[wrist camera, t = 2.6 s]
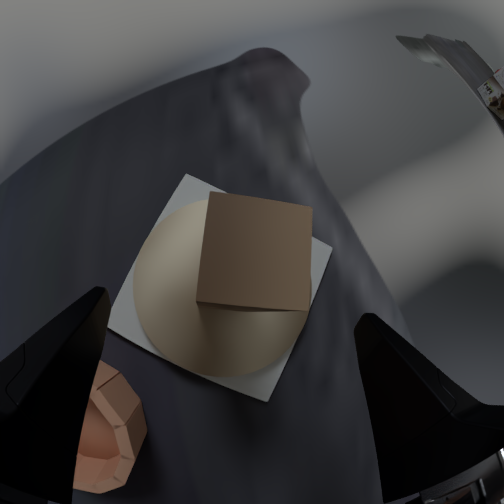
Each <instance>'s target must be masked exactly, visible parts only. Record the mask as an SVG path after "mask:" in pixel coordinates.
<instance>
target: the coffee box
mask: <svg viewBox="0 0 504 504" xmlns="http://www.w3.org/2000/svg"><path fill="white" fill-rule="evenodd" d="M477 90H478V91H479V93H480V95H481V97H482V98H483V100H484V102H485V104H486V106H487V107H488V108H489V109H490V110H491V111H493V112H494V113H495V114H496V115H497V116H498V117H499V118H500V119H501V120H503V119H504V67H503V68H501V69H500V70H499V71H498V72H497V73H495V74H494V75H493V76H492V77H491V78H490V79H488V80H487V81H486V82H485V83H484V84H483V85H481V86H480V87H479V88H478V89H477Z"/></svg>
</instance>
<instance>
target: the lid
mask: <svg viewBox="0 0 504 504" xmlns="http://www.w3.org/2000/svg"><path fill="white" fill-rule="evenodd" d="M311 249H312V207H308V206H303V205H297V204H292V203H286V202H280V201H274V200H268V199H262V198H256V197H249V196H243V195H236V194H229V193H222V192H215V191H210V193H209V199H207V200H201V201H197V202H194V203H191V204H188V205H186V206H184V207H182V208H180V209H178V210H176V211H175V212H173V213H171V214H170V215H168V216H167V217H166V218H165V219H164V220H162V221H161V222H160V223H159V224H158V225H157V226H156V227H155V228H154V230H153V231H152V232H151V233H150V235H149V236H148V238H147V239H146V241H145V242H144V244H143V246H142V248H141V250H140V253H139V255H138V258H137V261H136V265H135V270H134V275H133V298H134V303H135V308H136V312H137V315H138V318H139V320H140V323H141V325H142V327H143V329H144V331H145V333H146V334H147V336H148V337H149V338H150V340H151V341H152V343H153V344H154V345H155V346H156V347H157V348H158V349H159V350H160V352H162V353H163V354H164V355H165V356H166V357H168V358H169V359H170V360H171V361H173V362H175V363H176V364H178V365H179V366H181V367H183V368H185V369H188V370H190V371H192V372H195V373H199V374H202V375H207V376H214V377H233V376H241V375H245V374H248V373H252V372H255V371H257V370H259V369H262V368H264V367H266V366H267V365H269V364H271V363H272V362H274V361H275V360H277V359H278V358H279V357H280V356H282V355H283V354H284V353H285V352H286V351H287V350H288V349H289V348H290V347H291V345H292V344H293V343H294V341H295V340H296V339H297V337H298V336H299V334H300V332H301V330H302V329H303V327H304V324H305V322H306V319H307V317H308V313H309V309H310V305H311V297H312V281H311Z"/></svg>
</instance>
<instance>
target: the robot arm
mask: <svg viewBox="0 0 504 504" xmlns="http://www.w3.org/2000/svg"><path fill="white" fill-rule="evenodd" d="M110 313H111V304H110V299H109V293H108V290H107V288H104V287H98V286H96V287H94V288H93V289H91V290H90V291H88V292H87V293H86V294H84V295H83V296H82V297H80V298H79V299H78V300H76V301H75V302H74V303H73V304H71V305H70V306H69V307H67V308H66V309H65V310H63V311H62V312H61V313H60V314H58V315H57V316H56V317H54V318H53V319H52V320H51V321H49V322H48V323H47V324H46V325H44V326H43V327H42V328H41V329H40V330H38V331H37V332H36V333H35V334H33V335H32V336H31V337H30V338H29V339H27V340H26V341H25V343H23V344H21V345H20V346H19V347H18V348H17V349H16V350H14V351H13V352H12V353H11V354H10V355H8V356H7V357H6V358H5V359H3V360H2V361H1V362H0V504H48V500H49V501H53V502H56V503H60V504H72V493H73V483H74V475H75V467H76V461H77V454H78V448H79V442H80V437H81V432H82V427H83V422H84V418H85V413H86V409H87V405H88V401H89V397H90V393H91V389H92V385H93V382H94V378H95V374H96V371H97V368H98V364H99V361H100V358H101V354H102V350H103V346H104V341H105V336H106V331H107V326H108V322H109V318H110ZM354 338H355V344H356V351H357V358H358V364H359V370H360V374H361V379H362V383H363V387H364V391H365V396H366V400H367V405H368V410H369V415H370V420H371V425H372V430H373V435H374V441H375V447H376V452H377V459H378V466H379V473H380V480H381V488H382V496H383V502H384V504H385V503H388V502H392V501H395V500H398V499H401V498H404V497H407V496H410V495H412V494H415V493H418V492H419V494H420V496H418V497H417V498H415V499H413V500H411V501H408V502H406V503H405V504H504V406H503V405H487V404H483V403H481V402H479V401H478V400H477V399H475V398H474V397H473V396H471V395H470V394H469V393H467V392H466V391H465V390H464V389H462V388H461V387H460V386H459V385H457V384H456V383H454V382H453V381H452V380H451V379H450V378H449V377H448V376H446V375H445V374H444V373H443V372H442V371H441V370H440V369H438V368H437V367H436V366H435V365H434V364H433V363H432V362H430V361H429V360H428V359H427V358H426V357H425V356H424V355H423V354H421V353H420V352H419V351H418V350H417V349H416V348H415V347H413V346H412V345H411V344H410V343H409V342H408V341H406V340H405V339H404V338H403V337H402V336H401V335H399V334H398V333H397V332H396V331H395V330H393V329H392V328H391V327H390V326H389V325H388V324H386V323H385V322H384V321H383V320H382V319H380V318H379V317H378V316H377V315H376V314H374V313H364V314H363V315H362V316H361V318H360V320H359V321H358V323H357V325H356V326H355V328H354Z"/></svg>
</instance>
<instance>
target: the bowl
mask: <svg viewBox="0 0 504 504" xmlns="http://www.w3.org/2000/svg"><path fill="white" fill-rule="evenodd" d="M146 433H147V426H146V422H145V417H144V412H143V407H142V401H141V400H140V398H139V397H138V396H137V394H136V393H135V392H134V390H133V389H132V388H131V386H130V385H129V384H128V382H127V381H126V379H125V378H124V377H123V375H122V374H121V373H120V374H119V371H118V370H116V369H114V368H113V367H111V366H109V365H108V364H106V363H104V362H103V361H101V360H100V361H99V364H98V368H97V371H96V374H95V378H94V382H93V385H92V389H91V393H90V397H89V401H88V405H87V409H86V413H85V418H84V422H83V427H82V432H81V437H80V442H79V448H78V454H77V461H76V467H75V475H74V483H73V488H75V489H79V490H83V491H88V492H93V493H98V494H99V493H100V494H101V493H104V492H107V491H110V490H112V489H115V488H118V487H121V486H123V485H124V484H125V483H126V481H127V479H128V476H129V474H130V472H131V469H132V467H133V465H134V462H135V460H136V458H137V455H138V453H139V450H140V448H141V445H142V443H143V440H144V438H145V436H146Z"/></svg>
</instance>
